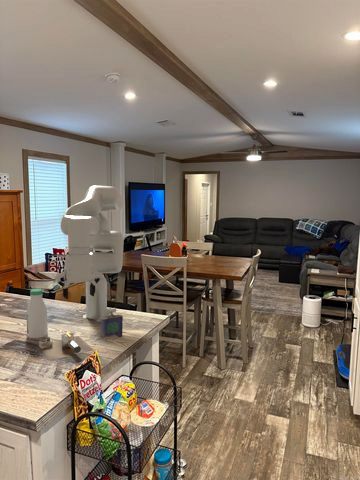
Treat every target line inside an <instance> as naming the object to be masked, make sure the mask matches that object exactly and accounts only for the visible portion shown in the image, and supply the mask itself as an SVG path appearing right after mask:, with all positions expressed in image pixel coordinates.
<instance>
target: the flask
mask: <svg viewBox="0 0 360 480" xmlns="http://www.w3.org/2000/svg"><path fill="white" fill-rule="evenodd" d="M113 313H114V312H113ZM113 313H112V312H110V315H109V317H104V318H101V322H100V337H102V338H105V337H109V336H116V337H118V338H122V337H123V321H124V319H123V315H122V314H113Z"/></svg>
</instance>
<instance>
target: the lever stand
mask: <svg viewBox="0 0 360 480" xmlns="http://www.w3.org/2000/svg"><path fill="white" fill-rule="evenodd" d="M74 342H75V343H76V344H77V345H78V346H80V348H81V351H80V352H79V353H75V352H74V351H73V350H72V349H71V348H69V349H64V348H62V339H59V340H54V341H53V340H52V338H51V337H50V336H47V338H46V339H43V340H39V341H38V343H39V344H37V345H36V346H37V347H38V348H39V350H40V351H41V352H42V353H43V355H44V356H45V357H46V358H47V359H48V361H49V362H50V361H54V360H58V359H63V358H65V357H66V358H67V357H70V356H75V355H78V354H81V353H85V352H86V353H87V352H89V351H94V349H93V347H92V346H90V345H89V344H88V343H87V342H86V341H85V340H84V339H83V338H81V337H80V336H78V335H76V336H74Z"/></svg>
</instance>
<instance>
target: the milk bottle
mask: <svg viewBox="0 0 360 480" xmlns="http://www.w3.org/2000/svg"><path fill="white" fill-rule="evenodd" d="M29 294H30V295H29V296H30V299H29V302H28V305H27V308H26V336H27V338H29V339H39V338H41V339H42V338H44V337H46V336H47V335H48V331H49V330H48V309H47V308H48V307H47V305H46V303H45V301H44V299H43V289H42V288H33V289H31V290H30V291H29Z"/></svg>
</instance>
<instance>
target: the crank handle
mask: <svg viewBox="0 0 360 480" xmlns="http://www.w3.org/2000/svg"><path fill="white" fill-rule="evenodd" d="M74 337H75V334H74V333H73V332H64V333H62V334H61V339H60V340H62V348H64V349H69V348H71V349H72V350H73V351H74V352H75V353H78V354H80V353H79V352H80V351H81V348H80V346H78V345H77V344H76V343H75V342H74Z"/></svg>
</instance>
